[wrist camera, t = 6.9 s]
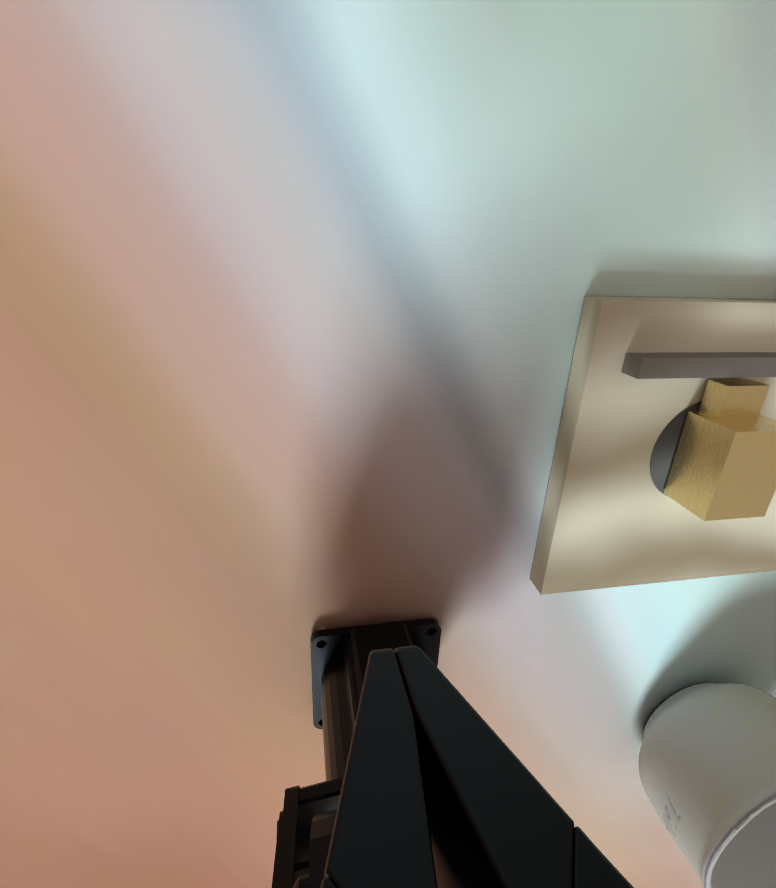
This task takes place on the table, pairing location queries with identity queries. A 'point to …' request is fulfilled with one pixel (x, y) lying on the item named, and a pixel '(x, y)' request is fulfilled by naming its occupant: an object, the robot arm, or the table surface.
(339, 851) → the robot arm
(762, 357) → the plate
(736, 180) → the table surface
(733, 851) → the grey rounded container
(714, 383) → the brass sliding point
